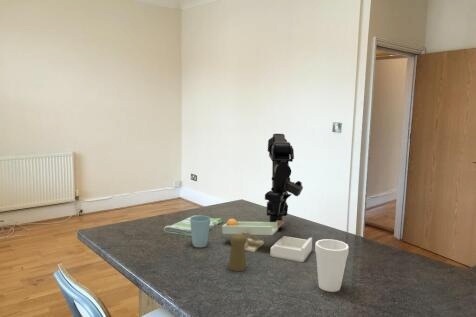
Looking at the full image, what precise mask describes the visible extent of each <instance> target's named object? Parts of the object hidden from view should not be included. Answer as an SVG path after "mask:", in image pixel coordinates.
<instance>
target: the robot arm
mask: <svg viewBox="0 0 476 317" xmlns="http://www.w3.org/2000/svg"><path fill="white" fill-rule="evenodd" d="M294 152H295V151H294V148H293V146H292V145H291V142H290V141H288V140H287V139H286V137H285V134H284V133H273V134H272V137H270V138H269V139H268V141H267V153H268V157H269V158H270V160H271V162H272V163H271V164H272V166H271V167H272V168H271V170H272V172H271V175H272V176H271V181H272V182H271V186H272V187H271V190H269V191H267V192H266V193H265V194H264V200H266V208H265V209H266V216H269V218H268V222H276V221H277V220H282V221H283V218H284V217H287V216H288V210H289V209H288V208H289V205H288V202H287V199H288V198H289V197H291V196H292V195H293V196H295V197H298V196H300V195H301V192H302V191H303V188H304V187H303V182H301V181H300V180H297V181H294V182H293V181H292V180H291V174H292V169H291V168H292V167H290V165H289V164H290V163H289V162H292V163H293V161H294V159H295V154H294ZM284 228H285V225H281V226H280V227H279V228H278V230H277V231H276V232H281V231H282V230H284Z"/></svg>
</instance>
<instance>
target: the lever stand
mask: <svg viewBox="0 0 476 317" xmlns="http://www.w3.org/2000/svg"><path fill="white" fill-rule="evenodd" d="M242 235H244V236H245V237H246V243H245V245H244V248H245V251H248V252H253V253H255V252H257V250H258V249H260V248H261V247H262V246H263V245H264V244H265V241H264V240H261V239H258V235H252V234H250V235H251V237H250V238H249V234H248V233H247V232H242Z"/></svg>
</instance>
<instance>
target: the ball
mask: <svg viewBox="0 0 476 317" xmlns="http://www.w3.org/2000/svg"><path fill="white" fill-rule="evenodd" d="M237 222H238V221H237V220H236V219H235V218H229V219H228V220H227V222H226V223H227V226H237Z"/></svg>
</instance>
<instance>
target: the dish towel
mask: <svg viewBox="0 0 476 317" xmlns="http://www.w3.org/2000/svg"><path fill="white" fill-rule="evenodd" d="M193 216H200V215H199V214H198V215H197V214H196V215H194V214H193V215H192V216H190V217H187V218H185V219H183V220H181V221H178V222H175V223H173V224H170V225H166V226H165V227H164V228H163V231H164V232H165V233H171V234H176V235H181V236H186V237H192V233H191V223H190V218H191V217H193ZM210 218H211V219H210V227H209V231H211V230H213V229H215V228H216V227H218V226H220V225H222V224H223V223H224V221H223V219H222V218H219V217H217V218H215V217H214V218H213V217H210Z"/></svg>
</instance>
